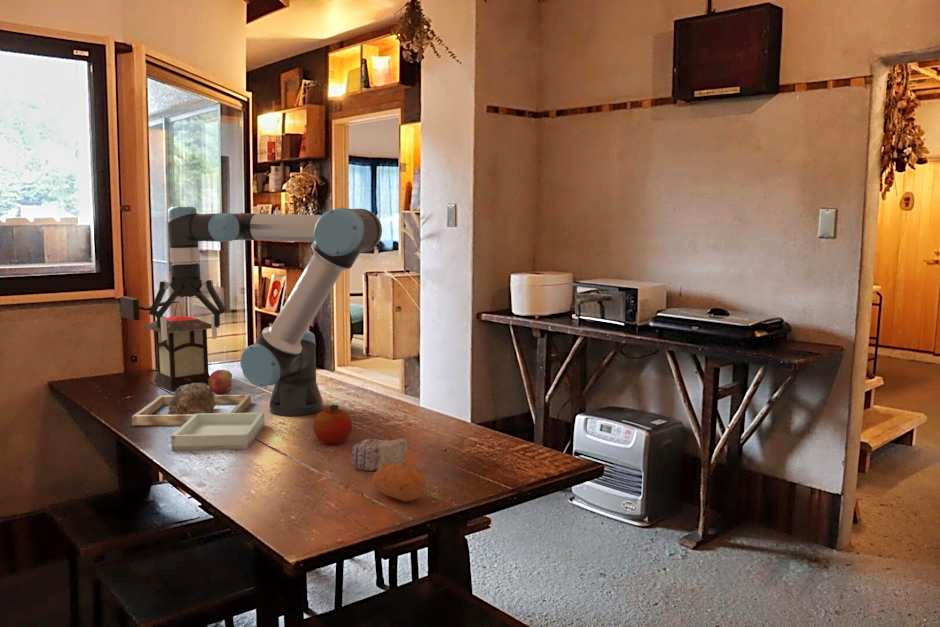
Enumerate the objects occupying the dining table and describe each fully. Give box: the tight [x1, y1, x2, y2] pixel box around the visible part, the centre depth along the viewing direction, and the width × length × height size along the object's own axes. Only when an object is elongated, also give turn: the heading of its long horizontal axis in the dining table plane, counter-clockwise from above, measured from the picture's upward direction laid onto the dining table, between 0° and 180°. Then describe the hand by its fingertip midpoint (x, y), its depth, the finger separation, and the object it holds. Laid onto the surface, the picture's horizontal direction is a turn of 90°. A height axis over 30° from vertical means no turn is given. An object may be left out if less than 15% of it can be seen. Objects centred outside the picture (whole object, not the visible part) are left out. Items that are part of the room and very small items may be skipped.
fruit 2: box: [312, 404, 353, 446], centre depth 195 cm, size 10×10×10 cm
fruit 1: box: [208, 369, 233, 395], centre depth 244 cm, size 8×8×8 cm
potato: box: [372, 464, 426, 503], centre depth 158 cm, size 7×13×7 cm, turn 41°
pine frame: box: [131, 394, 252, 426], centre depth 223 cm, size 26×23×2 cm
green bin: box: [170, 412, 265, 451], centre depth 200 cm, size 18×21×4 cm
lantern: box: [119, 295, 220, 392], centre depth 254 cm, size 18×26×30 cm
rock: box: [167, 383, 216, 415], centre depth 222 cm, size 14×9×10 cm
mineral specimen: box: [351, 437, 409, 472], centre depth 178 cm, size 13×7×6 cm, turn 111°
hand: (189, 339), depth 219 cm, fingers open, 13 cm apart
